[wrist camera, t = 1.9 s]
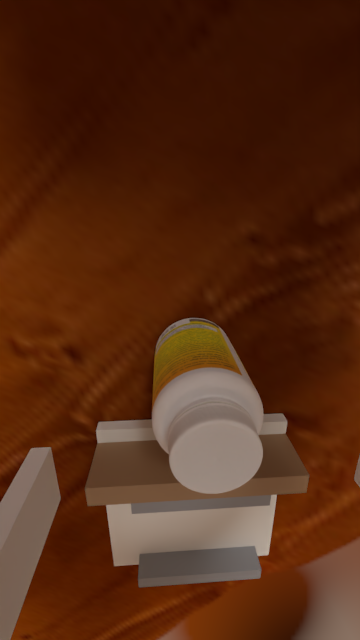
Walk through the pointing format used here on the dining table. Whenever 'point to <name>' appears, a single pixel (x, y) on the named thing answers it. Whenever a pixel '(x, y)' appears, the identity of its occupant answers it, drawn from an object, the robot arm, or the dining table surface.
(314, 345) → the dining table surface
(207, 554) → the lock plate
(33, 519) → the robot arm
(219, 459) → the supplement bottle
